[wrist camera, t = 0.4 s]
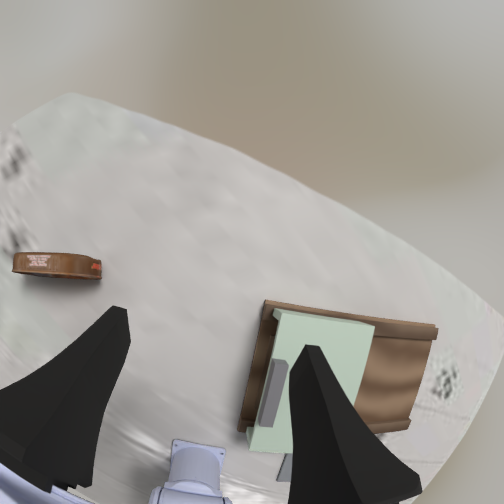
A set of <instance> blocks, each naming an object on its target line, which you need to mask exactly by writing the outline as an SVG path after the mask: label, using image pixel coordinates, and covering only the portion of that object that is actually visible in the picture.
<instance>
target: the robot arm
mask: <svg viewBox="0 0 504 504" xmlns="http://www.w3.org/2000/svg"><path fill="white" fill-rule="evenodd" d="M130 343H131V339H130V332H129V324H128V316H127V309H124V308H120V307H117V306H112V307H110V308H109V309H108V310H107V311H106V312H105V313H104V314H103V315H102V316H101V317H100V318H99V319H98V320H97V321H96V322H95V323H94V324H93V325H92V326H90V327H89V328H88V329H87V330H86V331H85V332H84V333H83V334H82V335H81V336H80V337H78V338H77V339H76V340H75V341H74V342H73V343H72V344H70V345H69V346H68V347H67V348H66V349H64V350H63V351H62V352H61V353H60V354H58V355H57V356H56V357H54V358H53V359H52V360H50V361H49V362H48V363H46V364H45V365H43V366H42V367H41V368H39V369H37V370H36V371H34V372H33V373H31V374H30V375H28V376H26V377H25V378H23V379H21V380H19V381H17V382H15V383H13V384H11V385H9V386H7V387H5V388H3V389H1V390H0V504H94V503H92V502H89V501H87V500H85V499H82V498H80V497H78V496H76V495H74V494H71V493H69V492H67V489H68V486H69V487H71V488H73V489H76V486H77V484H78V485H80V486H82V487H84V488H86V487H89V486H91V485H92V477H93V466H94V459H95V452H96V446H97V441H98V436H99V431H100V427H101V423H102V419H103V415H104V412H105V409H106V406H107V403H108V401H109V398H110V396H111V393H112V391H113V388H114V386H115V384H116V381H117V379H118V377H119V374H120V372H121V370H122V367H123V365H124V362H125V359H126V356H127V353H128V349H129V346H130ZM289 404H290V415H291V426H292V438H293V456H292V473H291V484H290V492H289V500H288V504H399V502H400V501H403V500H406V499H409V498H411V497H414V496H417V495H419V494H421V493H422V487H421V481H420V477H419V474H417V473H416V472H415V471H413V470H412V469H410V468H409V467H408V466H406V465H405V464H404V463H403V462H401V461H400V460H399V459H398V458H397V457H396V456H395V455H394V454H392V453H391V452H390V451H389V450H388V449H387V448H386V447H385V446H384V445H383V443H382V442H381V441H380V440H379V439H378V438H377V437H376V436H375V435H374V434H373V432H372V431H371V430H370V429H369V428H368V426H367V425H366V424H365V422H364V421H363V420H362V418H361V417H360V416H359V414H358V413H357V411H356V410H355V408H354V407H353V405H352V404H351V402H350V400H349V399H348V397H347V396H346V394H345V392H344V390H343V389H342V387H341V385H340V384H339V382H338V380H337V378H336V376H335V374H334V373H333V371H332V369H331V367H330V365H329V363H328V361H327V359H326V357H325V355H324V354H323V352H322V350H321V348H320V346H316V345H307V344H305V346H304V348H303V349H302V351H301V353H300V355H299V356H298V358H297V360H296V362H295V363H294V365H293V367H292V368H291V370H290V372H289ZM175 444H177V445H175ZM221 453H223V454H221ZM225 453H226V450H225V449H224V448H219V447H213V446H207V445H201V444H196V443H191V442H186V441H181V440H177V439H175V440H174V441H173V446H172V455H171V465H170V474H169V478H168V482H165V484H164V488H162V487H160V486H157V487H156V488H154V489H153V490H152V492H151V495H150V499H149V504H232V501H230V500H229V498H228V497H223V498H222V491H220V474H221V470H222V466H223V461H224V457H225Z"/></svg>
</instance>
